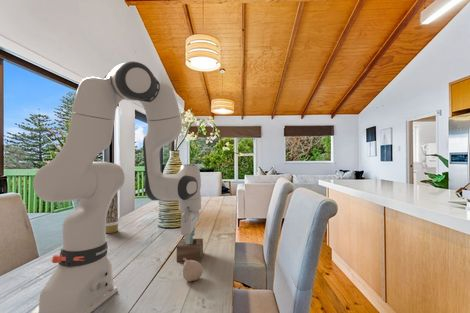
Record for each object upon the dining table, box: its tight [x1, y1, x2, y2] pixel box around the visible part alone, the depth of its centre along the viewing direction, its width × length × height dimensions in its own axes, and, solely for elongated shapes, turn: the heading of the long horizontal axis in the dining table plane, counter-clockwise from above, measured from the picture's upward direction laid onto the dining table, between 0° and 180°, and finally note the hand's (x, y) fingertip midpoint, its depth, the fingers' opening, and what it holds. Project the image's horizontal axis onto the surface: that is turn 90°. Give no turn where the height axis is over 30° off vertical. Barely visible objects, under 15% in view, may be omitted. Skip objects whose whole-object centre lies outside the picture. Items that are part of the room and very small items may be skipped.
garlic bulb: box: [182, 258, 204, 282], centre depth 84 cm, size 7×6×8 cm
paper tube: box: [106, 191, 119, 234], centre depth 139 cm, size 7×7×25 cm
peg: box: [185, 232, 194, 244], centre depth 103 cm, size 3×3×10 cm
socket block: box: [176, 238, 204, 263], centre depth 103 cm, size 9×9×6 cm
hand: (190, 239), depth 103 cm, fingers open, 8 cm apart
